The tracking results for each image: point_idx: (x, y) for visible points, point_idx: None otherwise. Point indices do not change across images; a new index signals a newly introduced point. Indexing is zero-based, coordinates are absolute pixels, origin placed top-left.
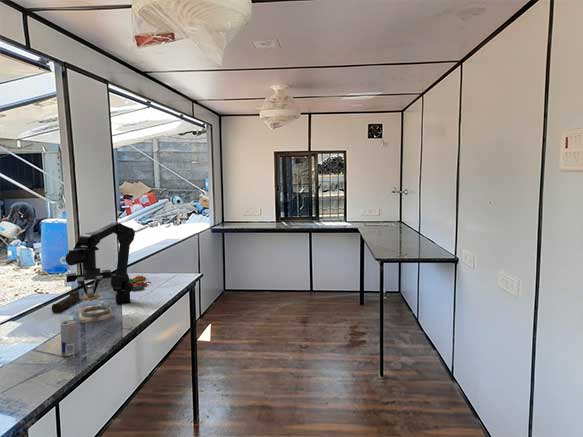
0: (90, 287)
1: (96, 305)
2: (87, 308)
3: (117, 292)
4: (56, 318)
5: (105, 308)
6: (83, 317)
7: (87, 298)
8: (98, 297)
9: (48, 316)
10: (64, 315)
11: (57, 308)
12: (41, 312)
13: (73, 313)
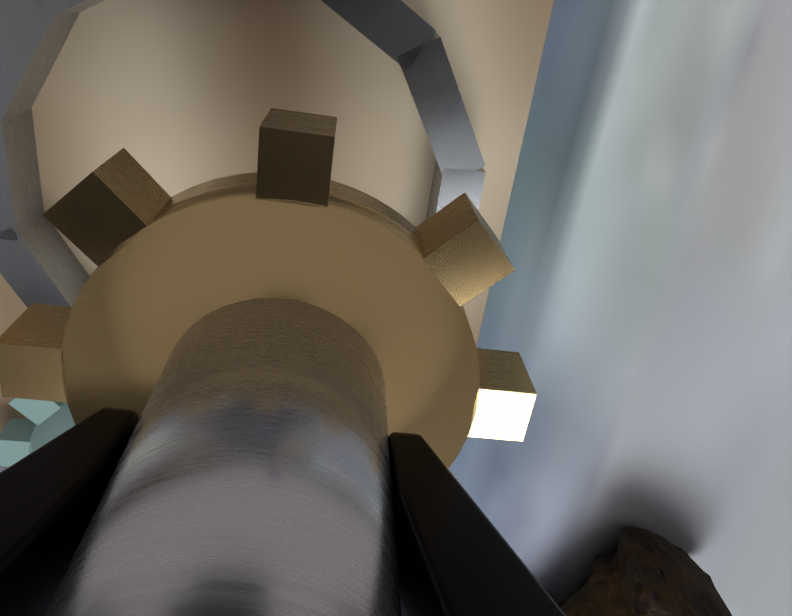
0: (206, 565)
1: None
2: None
3: None
4: (745, 341)
5: (54, 256)
6: (472, 29)
7: (390, 229)
8: (65, 309)
9: (780, 461)
10: (624, 405)
11: (680, 572)
12: (772, 610)
13: None
